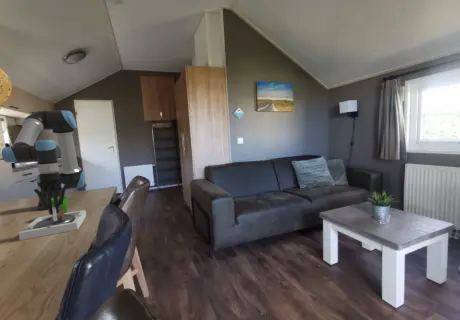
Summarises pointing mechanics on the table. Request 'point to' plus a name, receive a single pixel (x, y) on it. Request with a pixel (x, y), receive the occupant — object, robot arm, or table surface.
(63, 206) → the cup
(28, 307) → the table surface
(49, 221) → the dial
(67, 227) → the white square tray
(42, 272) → the table surface
